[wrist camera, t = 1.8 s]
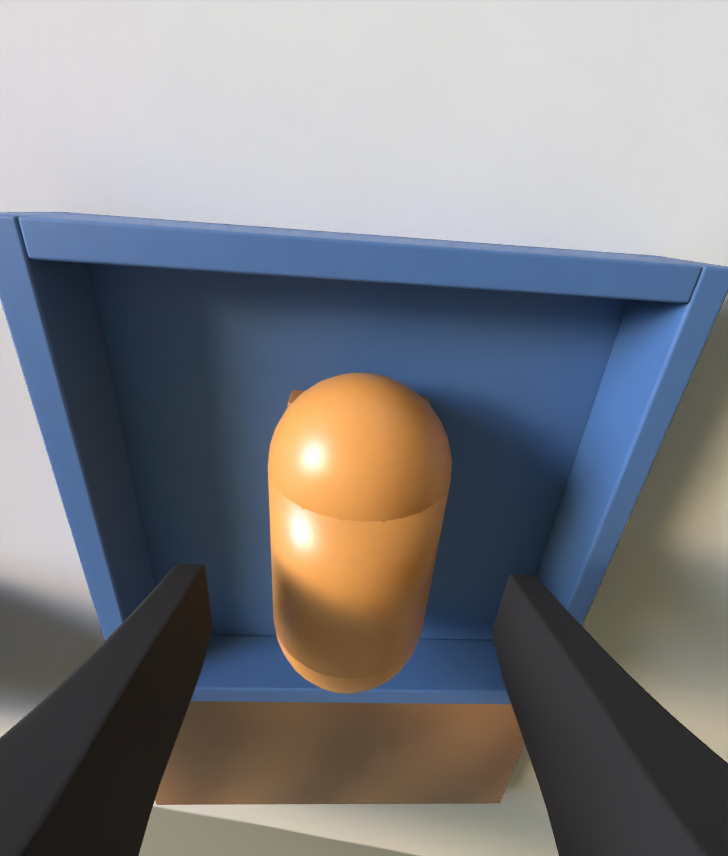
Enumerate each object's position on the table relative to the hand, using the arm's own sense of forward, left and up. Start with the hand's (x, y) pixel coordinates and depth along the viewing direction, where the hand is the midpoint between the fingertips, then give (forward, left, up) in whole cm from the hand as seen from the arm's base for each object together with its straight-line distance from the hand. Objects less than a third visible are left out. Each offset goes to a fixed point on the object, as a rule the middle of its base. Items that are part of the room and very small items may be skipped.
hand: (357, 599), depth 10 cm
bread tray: (0, 0, -5) cm, 5 cm away
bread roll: (0, 0, -4) cm, 4 cm away
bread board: (0, -15, -5) cm, 15 cm away
